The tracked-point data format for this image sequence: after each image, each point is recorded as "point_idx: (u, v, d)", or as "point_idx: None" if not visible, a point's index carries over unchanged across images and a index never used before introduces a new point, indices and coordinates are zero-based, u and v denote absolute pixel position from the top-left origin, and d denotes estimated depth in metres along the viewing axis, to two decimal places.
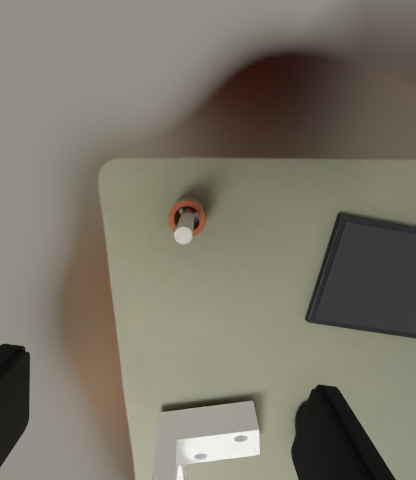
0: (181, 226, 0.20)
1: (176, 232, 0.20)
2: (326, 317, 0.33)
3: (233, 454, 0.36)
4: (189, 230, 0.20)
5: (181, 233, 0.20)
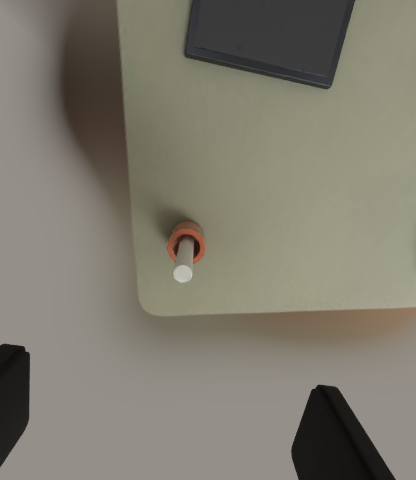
0: (173, 275, 0.19)
1: (179, 280, 0.19)
2: (327, 58, 0.24)
3: None
4: (177, 268, 0.19)
5: (180, 275, 0.19)
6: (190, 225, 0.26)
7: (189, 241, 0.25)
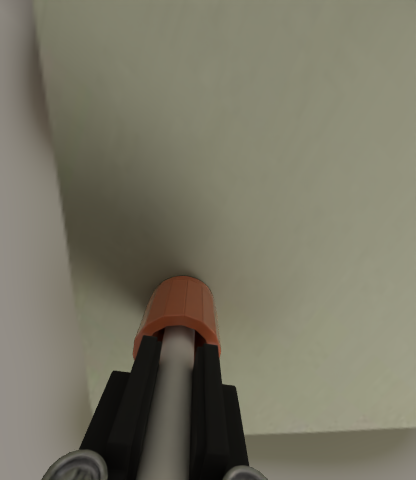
0: None
1: None
2: None
3: None
4: None
5: None
6: (187, 295, 0.12)
7: (184, 341, 0.11)
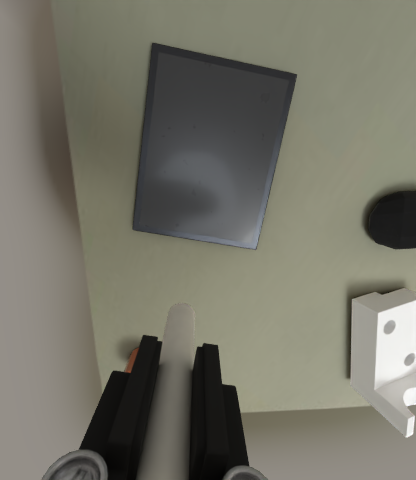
0: None
1: None
2: (251, 229, 0.29)
3: None
4: None
5: None
6: None
7: (184, 341, 0.11)
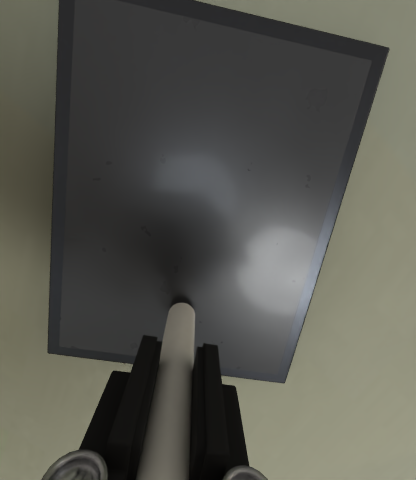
0: None
1: None
2: (276, 351, 0.15)
3: None
4: None
5: None
6: None
7: (184, 341, 0.11)
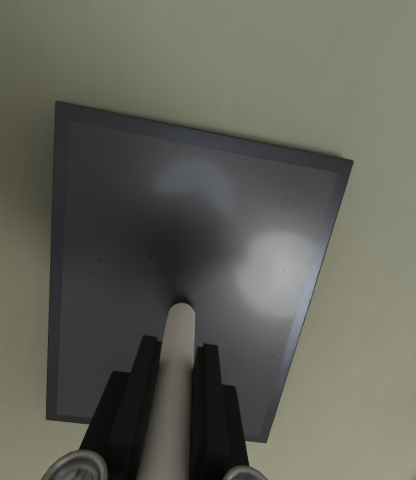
0: None
1: None
2: (257, 415, 0.17)
3: None
4: None
5: None
6: None
7: (184, 341, 0.11)
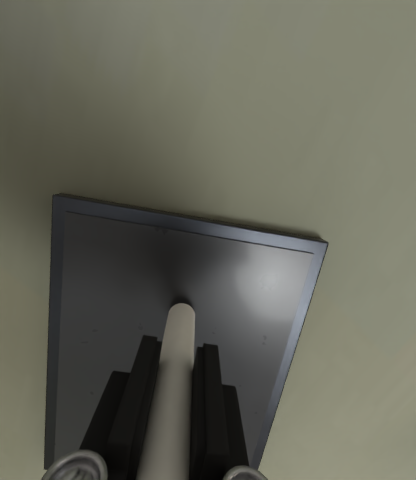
0: None
1: None
2: None
3: None
4: None
5: None
6: None
7: (184, 341, 0.11)
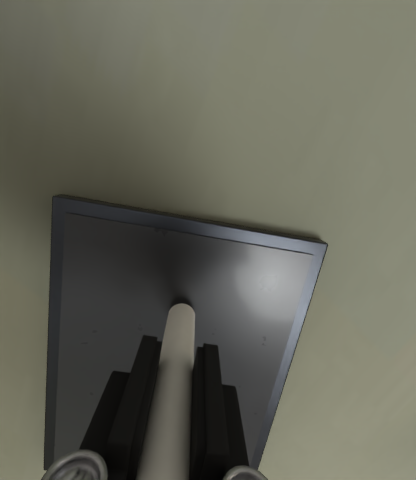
0: None
1: None
2: None
3: None
4: None
5: None
6: None
7: (184, 341, 0.11)
